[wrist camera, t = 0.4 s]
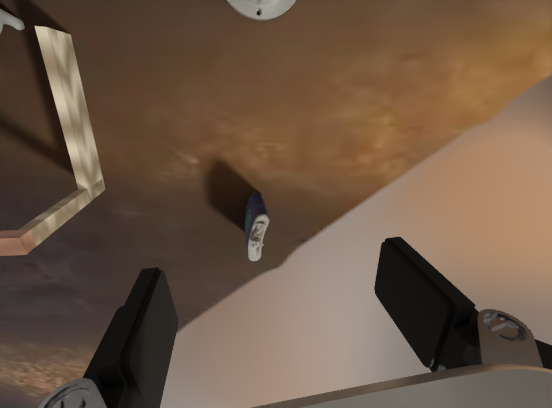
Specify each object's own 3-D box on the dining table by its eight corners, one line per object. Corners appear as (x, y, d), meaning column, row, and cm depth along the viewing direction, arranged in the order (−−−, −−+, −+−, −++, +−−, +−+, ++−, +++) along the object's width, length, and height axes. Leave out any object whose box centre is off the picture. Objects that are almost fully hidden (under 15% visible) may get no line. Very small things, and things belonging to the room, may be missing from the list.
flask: (256, 235, 52) (261, 269, 42) (241, 233, 51) (243, 267, 41) (264, 192, 48) (272, 219, 38) (249, 190, 47) (253, 216, 38)
